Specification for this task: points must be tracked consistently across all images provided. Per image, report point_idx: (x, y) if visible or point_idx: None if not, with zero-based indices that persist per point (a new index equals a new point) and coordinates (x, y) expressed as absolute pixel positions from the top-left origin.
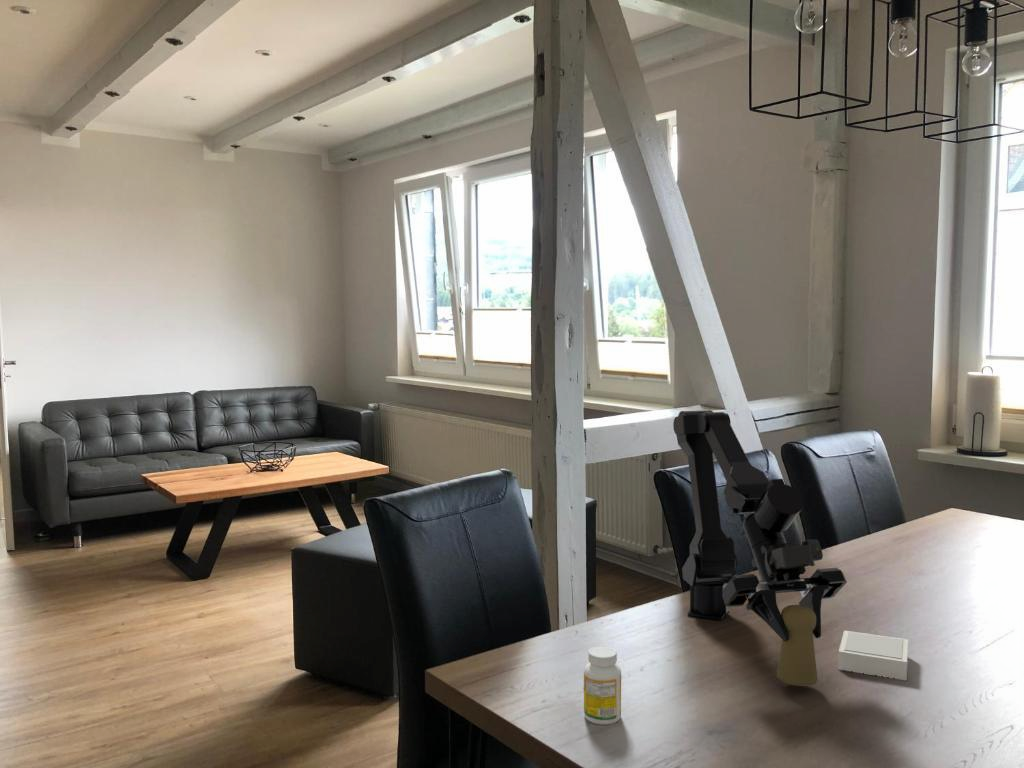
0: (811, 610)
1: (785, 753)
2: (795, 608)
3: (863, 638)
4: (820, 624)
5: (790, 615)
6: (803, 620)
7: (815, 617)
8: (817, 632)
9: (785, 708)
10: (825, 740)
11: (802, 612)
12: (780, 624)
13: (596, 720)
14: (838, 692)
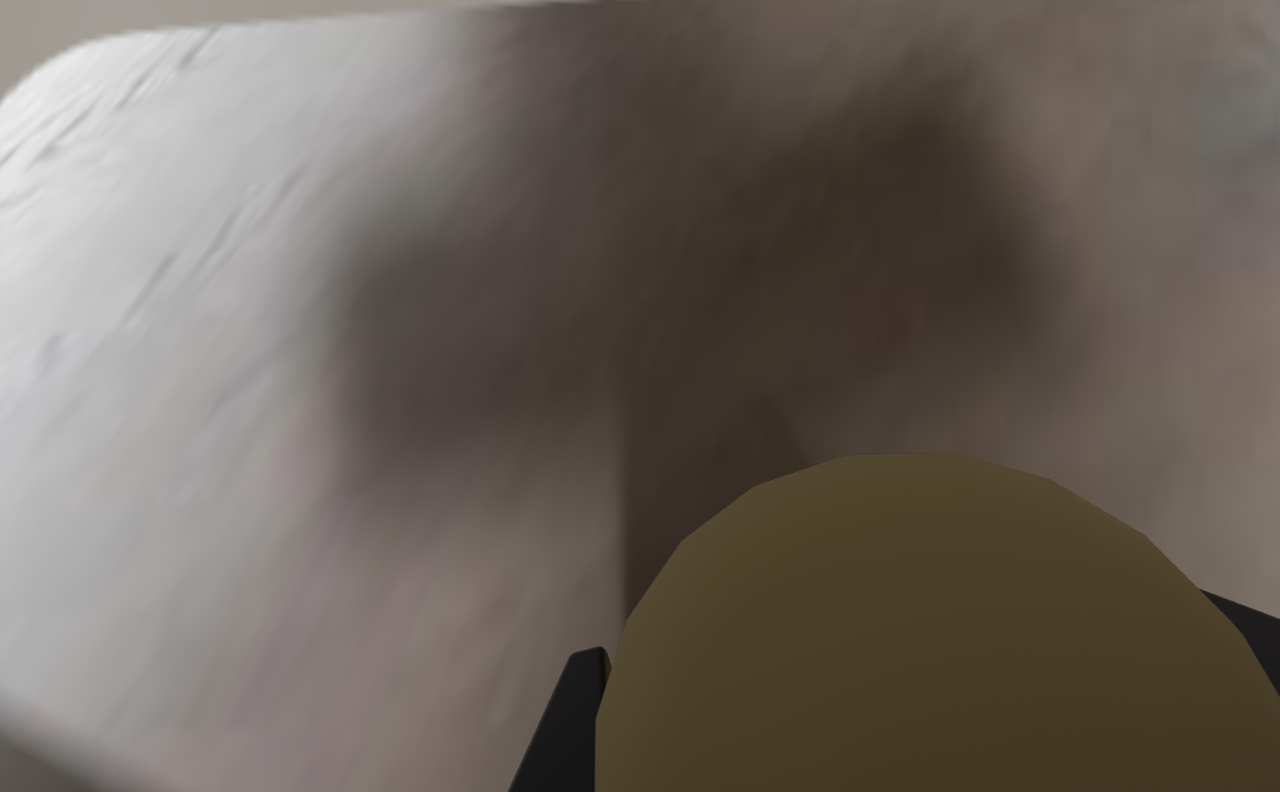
0: (691, 719)
1: (965, 6)
2: (1086, 743)
3: None
4: (530, 753)
5: (1159, 552)
6: (894, 457)
7: (640, 608)
8: (607, 680)
9: (899, 411)
10: (763, 112)
11: (930, 549)
12: (1226, 607)
13: None
14: (513, 644)
